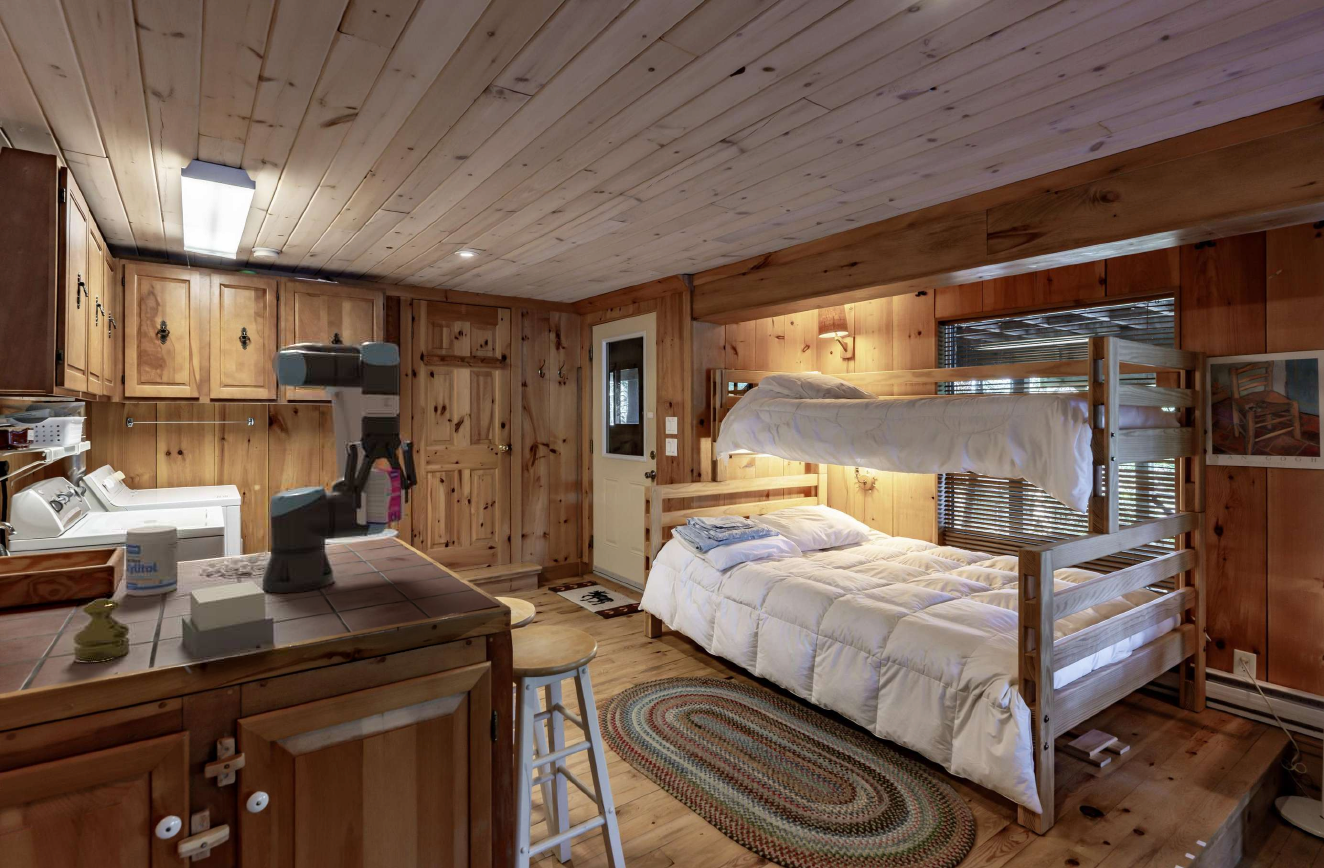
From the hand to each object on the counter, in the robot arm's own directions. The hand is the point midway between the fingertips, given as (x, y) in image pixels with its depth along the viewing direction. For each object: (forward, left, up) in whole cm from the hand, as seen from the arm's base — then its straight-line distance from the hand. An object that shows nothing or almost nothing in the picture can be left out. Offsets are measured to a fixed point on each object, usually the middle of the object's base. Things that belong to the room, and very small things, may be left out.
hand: (381, 520), depth 142 cm
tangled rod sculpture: (-56, -12, -20) cm, 60 cm away
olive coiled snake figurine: (-7, -46, -19) cm, 50 cm away
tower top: (+1, -29, -15) cm, 32 cm away
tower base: (0, -29, -20) cm, 35 cm away
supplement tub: (-49, -33, -19) cm, 62 cm away
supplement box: (0, 0, 0) cm, 1 cm away
